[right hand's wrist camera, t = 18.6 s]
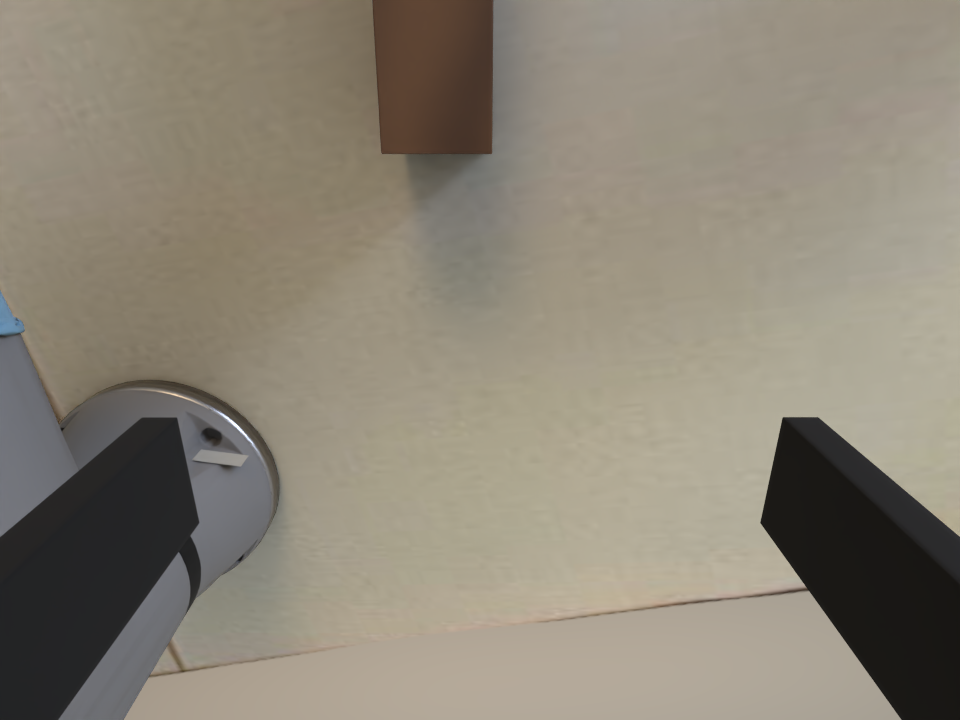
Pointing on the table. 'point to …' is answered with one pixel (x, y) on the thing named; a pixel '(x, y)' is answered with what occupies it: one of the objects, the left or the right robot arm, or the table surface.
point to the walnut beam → (434, 75)
